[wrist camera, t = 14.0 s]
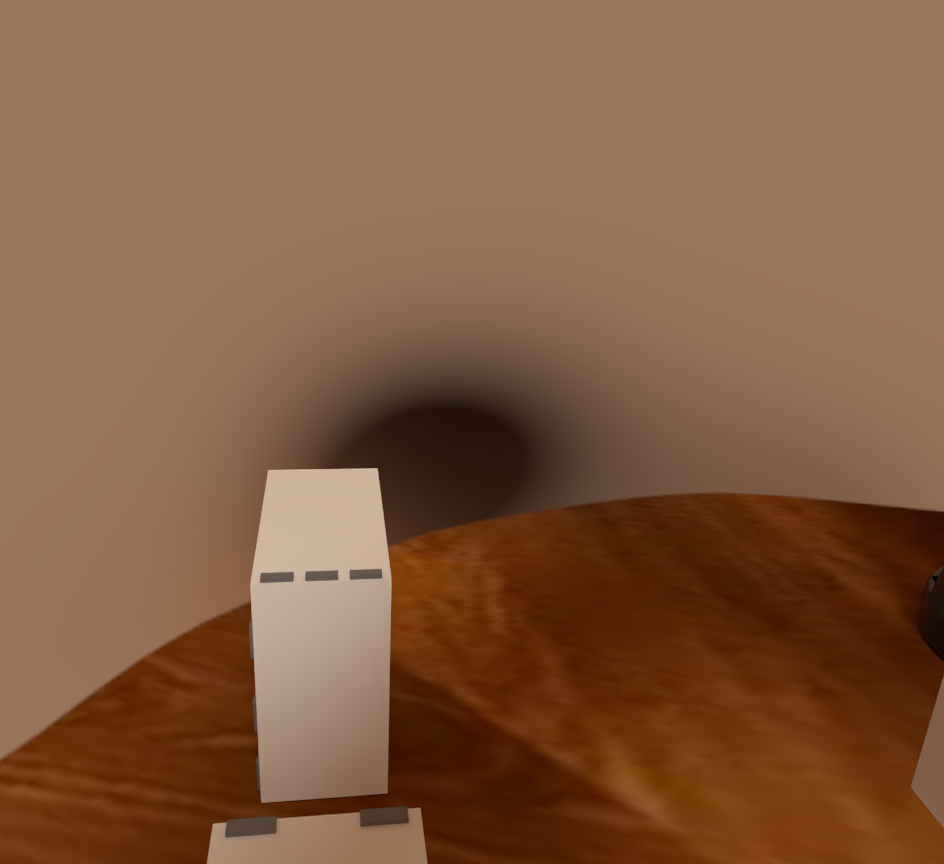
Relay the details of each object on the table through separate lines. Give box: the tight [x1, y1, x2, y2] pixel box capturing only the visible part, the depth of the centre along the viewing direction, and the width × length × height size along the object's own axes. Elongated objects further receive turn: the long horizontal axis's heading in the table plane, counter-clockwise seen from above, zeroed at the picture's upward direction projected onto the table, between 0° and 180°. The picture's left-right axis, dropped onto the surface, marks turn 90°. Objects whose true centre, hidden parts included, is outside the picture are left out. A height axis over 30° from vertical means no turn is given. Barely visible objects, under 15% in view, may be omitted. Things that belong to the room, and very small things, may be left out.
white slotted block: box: [249, 468, 391, 803], centre depth 45 cm, size 6×12×12 cm, turn 9°
